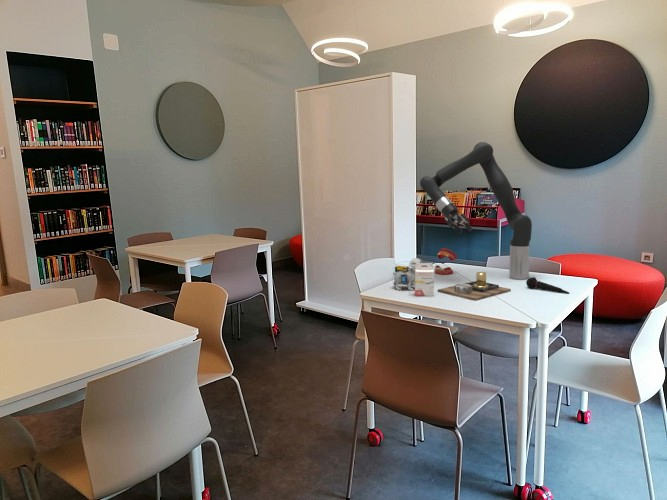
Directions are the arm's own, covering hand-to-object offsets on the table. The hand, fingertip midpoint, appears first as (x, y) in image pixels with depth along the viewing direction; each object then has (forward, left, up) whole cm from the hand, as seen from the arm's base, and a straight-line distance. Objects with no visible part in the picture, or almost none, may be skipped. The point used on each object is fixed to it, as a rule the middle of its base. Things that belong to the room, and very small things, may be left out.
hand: (466, 231), depth 244 cm
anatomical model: (-13, -25, -27) cm, 39 cm away
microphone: (-18, +33, -27) cm, 46 cm away
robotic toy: (+26, -13, -27) cm, 40 cm away
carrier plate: (+8, +12, -27) cm, 30 cm away
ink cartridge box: (+30, +1, -27) cm, 40 cm away
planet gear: (+4, +13, -26) cm, 29 cm away
